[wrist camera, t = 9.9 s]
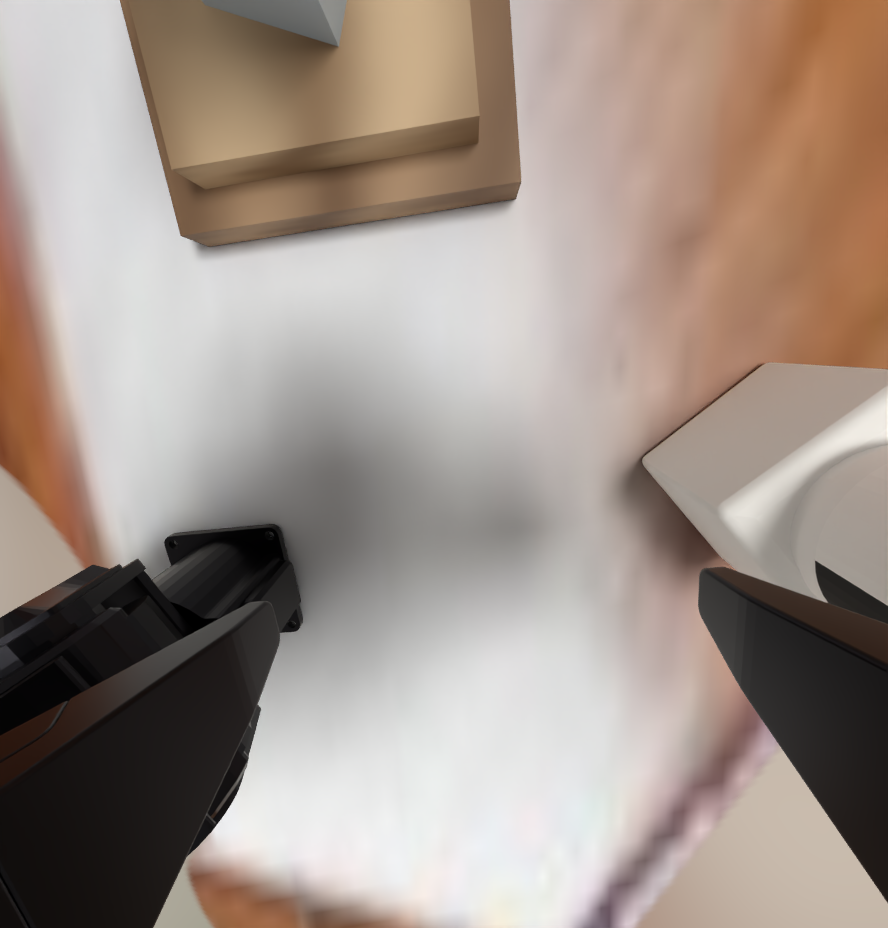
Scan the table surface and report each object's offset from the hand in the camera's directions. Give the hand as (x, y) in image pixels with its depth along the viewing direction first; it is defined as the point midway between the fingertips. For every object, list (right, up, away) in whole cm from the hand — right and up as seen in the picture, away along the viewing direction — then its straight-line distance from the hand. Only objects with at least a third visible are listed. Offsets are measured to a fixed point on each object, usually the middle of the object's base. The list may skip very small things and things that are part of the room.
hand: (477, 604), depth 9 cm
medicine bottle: (+14, +3, +12) cm, 19 cm away
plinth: (-5, +20, +8) cm, 23 cm away
